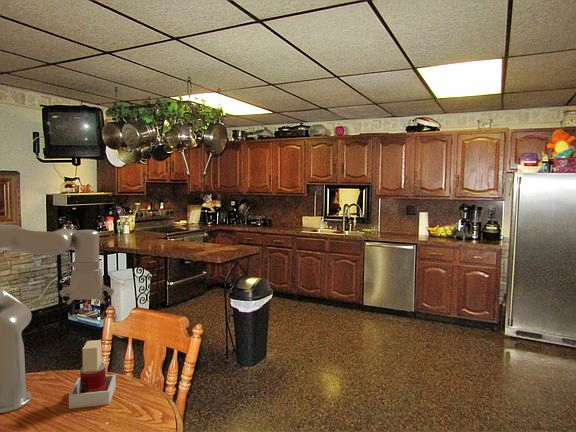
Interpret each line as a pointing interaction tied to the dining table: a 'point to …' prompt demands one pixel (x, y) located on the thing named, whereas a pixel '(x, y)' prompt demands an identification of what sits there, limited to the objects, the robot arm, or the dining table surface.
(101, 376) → the canned food
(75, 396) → the box
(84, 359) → the plain beige cuboid
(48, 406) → the dining table surface
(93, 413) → the dining table surface
